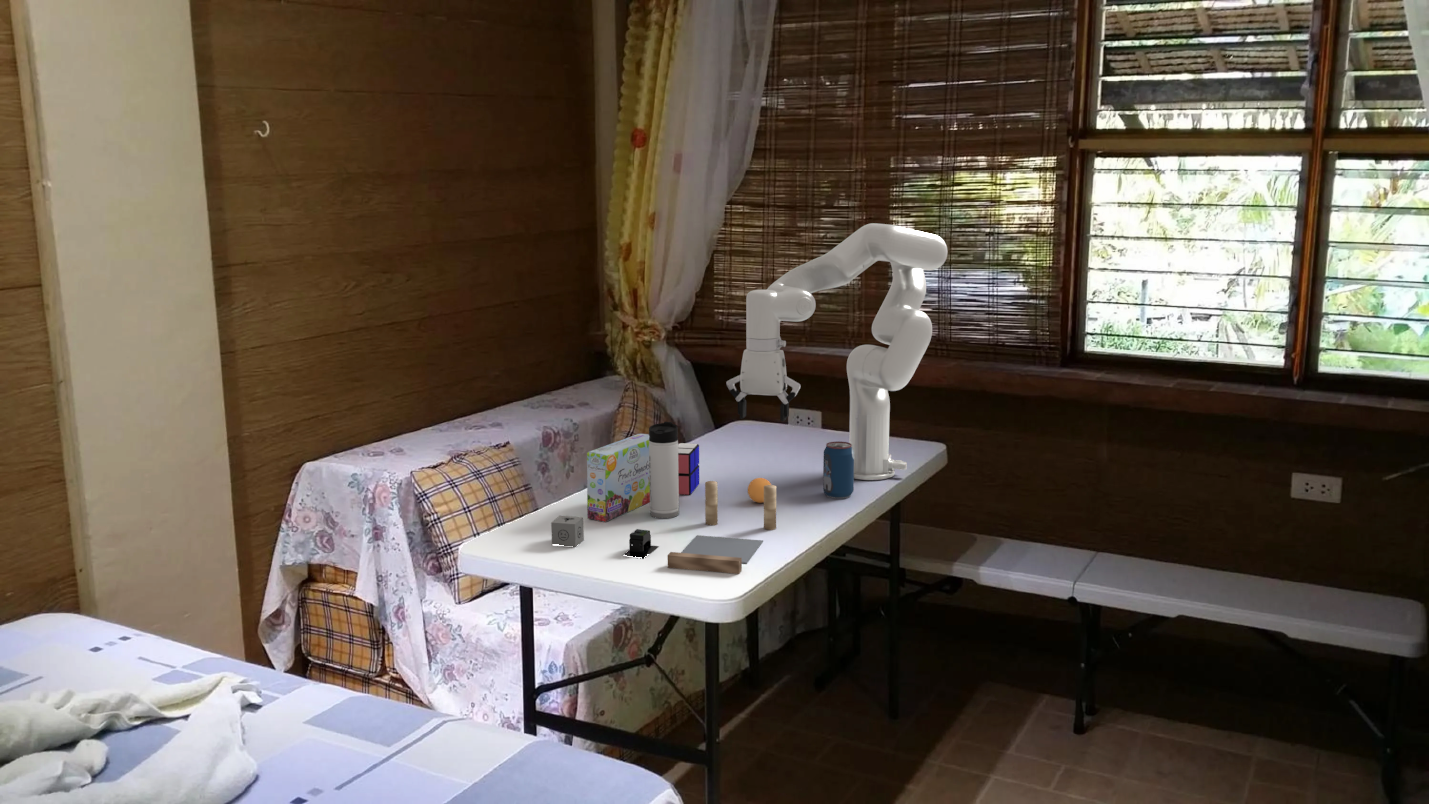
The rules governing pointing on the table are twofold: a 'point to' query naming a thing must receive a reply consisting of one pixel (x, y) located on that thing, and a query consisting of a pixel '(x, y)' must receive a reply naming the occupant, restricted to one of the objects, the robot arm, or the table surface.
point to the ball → (757, 489)
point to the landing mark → (723, 547)
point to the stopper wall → (704, 562)
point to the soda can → (838, 470)
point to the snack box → (618, 478)
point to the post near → (769, 507)
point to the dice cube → (567, 530)
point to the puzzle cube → (688, 468)
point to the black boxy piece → (640, 544)
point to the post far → (711, 503)
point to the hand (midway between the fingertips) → (763, 418)
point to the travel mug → (663, 470)
